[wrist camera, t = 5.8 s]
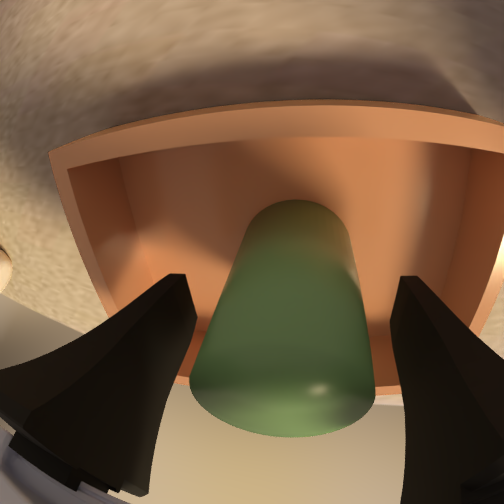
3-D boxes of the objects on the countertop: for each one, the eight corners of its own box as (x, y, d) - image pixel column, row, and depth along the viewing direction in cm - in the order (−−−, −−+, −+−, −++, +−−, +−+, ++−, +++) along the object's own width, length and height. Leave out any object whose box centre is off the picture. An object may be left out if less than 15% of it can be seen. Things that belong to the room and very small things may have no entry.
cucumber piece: (353, 198, 11) (395, 342, 5) (347, 292, 13) (358, 437, 7) (236, 201, 12) (164, 335, 6) (250, 292, 14) (211, 429, 8)
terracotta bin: (478, 115, 8) (536, 136, 5) (431, 332, 14) (447, 387, 11) (108, 128, 11) (47, 151, 8) (167, 326, 18) (141, 376, 14)
